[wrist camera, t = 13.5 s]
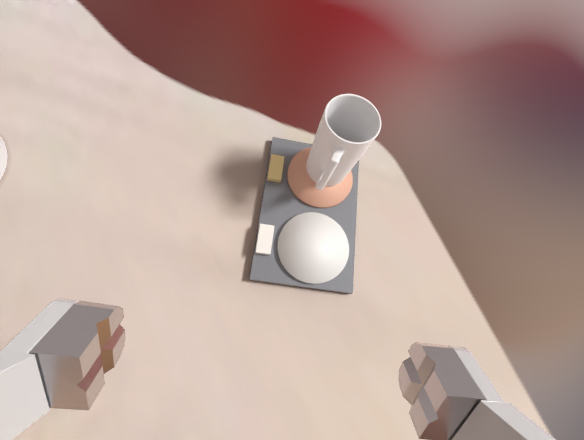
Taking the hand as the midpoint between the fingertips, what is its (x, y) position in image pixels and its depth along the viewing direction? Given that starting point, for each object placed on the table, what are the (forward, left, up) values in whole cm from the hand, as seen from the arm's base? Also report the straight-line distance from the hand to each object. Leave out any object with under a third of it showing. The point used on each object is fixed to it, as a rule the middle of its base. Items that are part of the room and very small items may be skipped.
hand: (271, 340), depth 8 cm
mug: (+7, +22, -30) cm, 38 cm away
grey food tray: (+6, +16, -31) cm, 36 cm away
